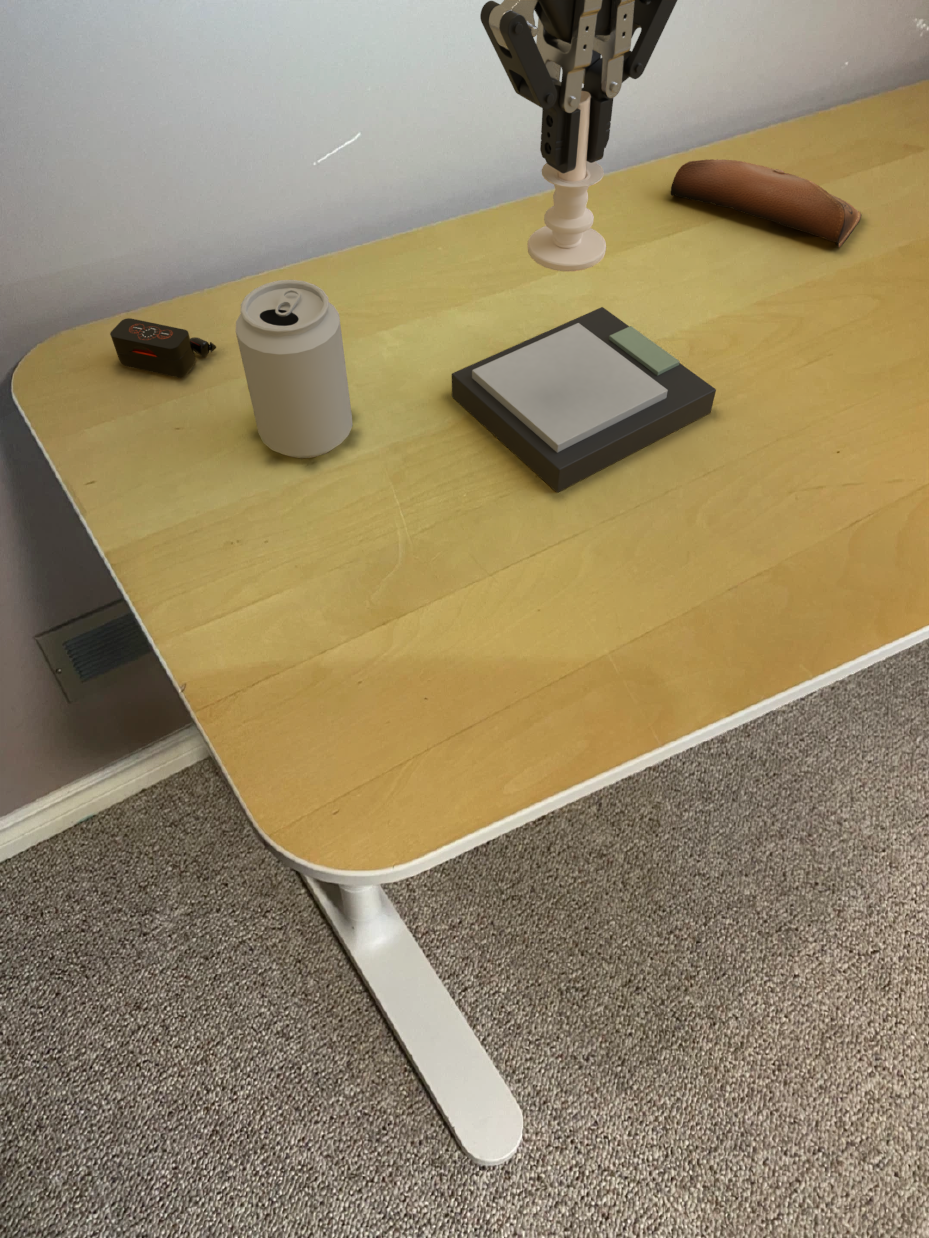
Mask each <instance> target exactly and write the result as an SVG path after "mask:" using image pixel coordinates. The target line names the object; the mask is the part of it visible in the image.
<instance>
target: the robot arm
mask: <svg viewBox="0 0 929 1238" xmlns="http://www.w3.org/2000/svg"><path fill="white" fill-rule="evenodd" d="M677 3H678V0H503V1H502V2H501V3H498V2H497V1H494V0H488V1H487V2H485V3H484V4H483V6H482V8H481V10H480V16H479V17H480V18H479V19H480V22H481V24H482V26H483V28H484V31H485V32H486V34H487V37H488V39H489V41H490V43H491V45H492V47H493V49H494V51H495V53H496V55H497V58H498V59H499V61H500V63H501V65H502V67H503V70H504V73H506V76H507V78H508V79H509V81H510V84H511V86H512V88H513V90H514V92H515V94H517V95H518V96H521V98H524V99H526V100H527V101H529V102H531V103H532V104H534V105H536V106H538V107H539V108H541V111H542V112H541V126H540V127H541V130H540V133H541V134H540V148H539V151H540V155H541V157H542V158H543V159H544V160H545V163H547V164H548V165H550V166H551V167H553V168H554V169H556V170H558V171H559V172H561V173H567V172H569V171H572V170H574V169H575V167H576V159H577V147H578V135H579V124H580V112H581V110H580V109H578V108H577V107H578V106H579V103H580V99H581V91H586V92H589V93H590V95H591V98H590V119H589V134H588V148H587V161H588V162H590V163H593V162H597V161H600V160H602V159H603V158H604V155H605V149H606V148H607V145H608V144H609V140H610V133H611V124H612V123H611V122H612V116H613V106H614V99H615V97H617V96H618V95H619V93H620V91H621V90H622V86H623V83H624V82H625V81H627V80H628V79H629V78H630V79H633V80H637V79H639V78H640V77H641V76H642V75H643V74H644V72H645V70H646V68H647V65H648V64H649V61H650V59H651V57H652V55H653V53H654V51H655V48H656V47H657V45H658V43H659V40H660V39H661V36H662V34H663V32H664V30H665V27H666V25H667V23H668V21H669V19H670V17H671V15H672V13H673V11H674V9H675V6H676V5H677ZM534 13H535V14H536V17H537V18H538V19H537V25H536V21H535V20H536V19H535V15H534ZM639 28H640V33H639V35H638V37H637V39H636V41H635V43H634V46H633V48H632V49H631V47H632V39H633V37H634V35H635V32H636V31H637V30H638V29H639ZM535 37H536V40H535ZM560 79H561V80H560Z"/></svg>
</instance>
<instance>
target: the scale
mask: <svg viewBox="0 0 929 1238" xmlns="http://www.w3.org/2000/svg"><path fill="white" fill-rule="evenodd" d="M716 392H717V388H715V387H713V386H712V385H711V384H710V383H708V382H707V381H706V380H704V379H703V378H701V377H700V376H698V375H697V374H696V373H694V372H693V371H692V370H690V369H689V368H687V366H685V365H683V364H682V363H681V360H679V359H678V358H676V357H675V356H673V355H672V354H671V353H669V352H668V351H667V350H665V349H664V348H663V347H661V346H660V345H658V344H657V343H656V342H654V341H653V340H651V339H650V338H649V337H648V336H646V335H644V334H643V333H642V332H640V331H639V330H638V329H636V328H635V327H633V326H631V325H628V324H627V323H626V322H624V321H623V320H621V319H620V318H619V317H617V316H616V315H615V314H613V313H611V312H610V311H609V310H607V308H605V307H603V306H601V307H598V308H596V309H594V310H592V311H589V312H587V313H585V314H583V315H581V316H578V317H575V318H574V319H571V320H569V321H567V322H565V323H563V324H560V325H558V326H555V327H554V328H551V329H549V330H547V331H544V332H542V333H540V334H537V335H536V336H533V337H531V338H529V339H526V340H524V341H522V342H520V343H518V344H515V345H513V346H510V347H508V348H506V349H503V350H501V351H500V352H497V353H494V354H493V355H490V356H488V357H486V358H484V359H481V360H479V361H477V362H475V363H472V364H470V365H468V366H465V367H463V368H460V369H459V370H456V371H454V372H452V373H451V397H452V399H453V400H455V401H456V402H457V403H458V404H459V405H460V406H461V407H463V408H464V409H465V411H467V412H468V413H469V414H470V415H471V416H472V417H473V418H474V419H476V420H477V421H478V422H479V423H480V424H481V425H482V426H483V427H484V428H485V429H487V430H488V431H489V432H490V434H492V435H493V436H494V437H495V438H497V440H499V442H500V443H502V444H503V445H504V446H505V447H507V449H508V450H510V451H511V452H512V453H513V454H514V455H515V456H516V457H517V458H518V459H519V460H520V461H521V462H523V463H524V464H525V465H526V466H527V468H529V469H530V470H532V471H533V473H535V474H536V475H537V476H538V477H539V478H540V479H541V480H542V481H544V483H546V484H547V485H548V486H549V487H550V488H551V489H552V490H553V491H554V492H555V493H559V492H561V491H563V490H566V489H567V488H570V487H571V486H573V485H575V484H577V483H578V482H581V481H582V480H584V479H586V478H589V477H590V476H592V475H594V474H596V473H598V472H600V471H602V470H604V469H606V468H607V467H609V466H611V465H613V464H616V463H617V462H619V461H621V460H623V459H624V458H626V457H628V456H631V455H632V454H634V453H636V452H638V451H640V450H643V449H644V448H645V447H648V446H649V445H651V444H653V443H655V442H657V441H659V440H661V439H663V438H665V437H667V436H669V435H670V434H673V433H674V432H677V431H678V430H681V429H683V428H684V427H686V426H688V425H689V424H692V423H693V422H696V421H697V420H700V419H701V418H703V417H705V416H707V415H709V414H711V412H712V409H713V404H714V400H715V397H716Z"/></svg>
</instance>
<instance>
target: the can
mask: <svg viewBox="0 0 929 1238" xmlns="http://www.w3.org/2000/svg"><path fill="white" fill-rule="evenodd" d="M329 300H330V299H329V296H328V295H327V294H326V292H325V290H323V289H322V288H321V287H319V286H317V285H316V284H313V283H311V282H307V281H305V280H298V279H279V280H274V281H271V282H267V283H263V284H262V285H260V286H257V287H256V288H254V289H252V290H251V291H250V292H249V293H248V294H246V295H245V296H244V298H243V299H242V301H241V302H240V312H239V316H238V317H237V318H236V321H235V335H236V339H237V345H238V349H239V353H240V358H241V362H242V367H243V371H244V375H245V380H246V384H247V389H248V392H249V397H250V403H251V406H252V411H253V415H254V420H255V425H256V428H257V429H256V430H257V433H258V435H259V437H260V439H261V441H262V443H263V444H264V445H265V446H267V447H268V448H269V449H270V450H272V451H274V452H276V453H278V454H282V455H283V456H288V457H290V458H297V459H309V458H315V457H319V456H323V455H325V454H327V453H329V452H330V451H332V450H334V449H336V447H338V446H339V445H341V444H343V442H344V441H345V440H346V439H347V438H348V437H349V435H350V433H351V430H352V428H353V426H354V425H353V414H352V404H351V397H350V389H349V382H348V374H347V366H346V357H345V350H344V341H343V334H342V326H341V325H342V324H341V318H340V317H341V316H340V313H339V311H338V310H337V308H336V306H335V305H334V304H332V303H331V302H330V301H329Z"/></svg>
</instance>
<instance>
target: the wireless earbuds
mask: <svg viewBox="0 0 929 1238" xmlns="http://www.w3.org/2000/svg"><path fill="white" fill-rule="evenodd" d="M109 335H110V338H111V341H112V344H113V347H114V350H115V352H116V355H117V358H118V361H119V363H120V364H121V365H122V366H124V367H127V368H132V369H136V370H140V371H145V372H149V373H154V374H159V375H164V376H167V377H173V378H177V379H183V378H185V376H186V375H187V374H188V373H189V372H190V370H191V369H192V368H193V367H194V366H195V364H196V361H197V359H196V355H195V354H197V355H199V356H200V357H202V358H205V357H207V356H208V355H209V353H213V352H214V351H215V350H216V349H217V345H215V344H214V342H212V341H210V342H208V341H207V340H205V339H202V338H200V337H195V336H194V337H191V335H190V333H189V331H188V330H187V329H185V328H184V329H183V328H179V327H174V326H169V325H165V324H160V323H157V322H150V321H146V320H141V319H136V318H132V317H131V318H130V317H128V318H123V319H122V320H120V321H119V322H118V324H117V325H116V326H115V327H114V328H112V330H111V331H110V332H109Z"/></svg>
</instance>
